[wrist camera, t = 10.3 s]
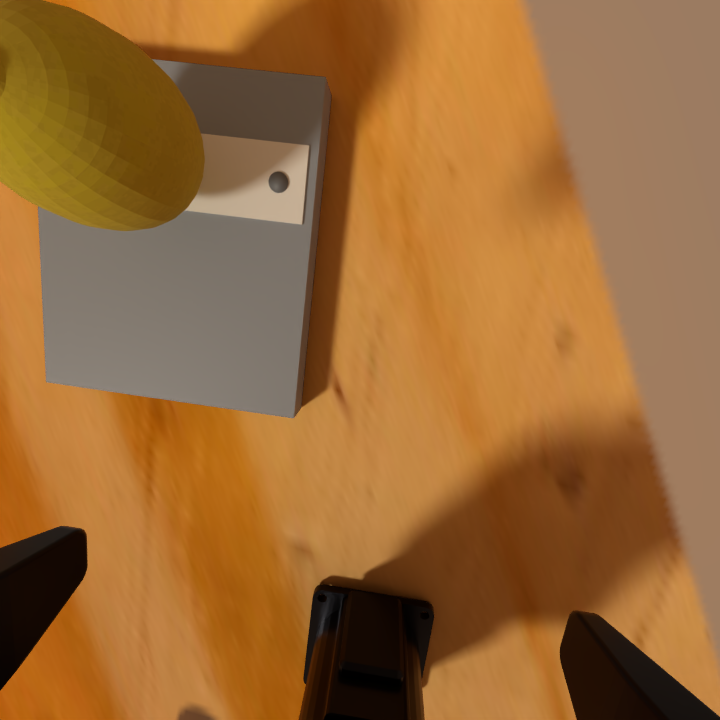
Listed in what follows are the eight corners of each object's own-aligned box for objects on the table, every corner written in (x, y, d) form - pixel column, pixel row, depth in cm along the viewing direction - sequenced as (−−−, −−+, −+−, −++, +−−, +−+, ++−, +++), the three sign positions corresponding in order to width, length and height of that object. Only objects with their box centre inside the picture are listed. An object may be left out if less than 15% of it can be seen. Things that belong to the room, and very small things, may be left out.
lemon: (117, 81, 15) (-169, -130, 7) (250, 117, 15) (102, -58, 7) (101, 222, 16) (-162, 169, 9) (224, 257, 16) (72, 234, 8)
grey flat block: (301, 407, 19) (292, 419, 17) (71, 374, 20) (43, 382, 18) (331, 95, 16) (325, 74, 15) (61, 67, 17) (26, 44, 15)
